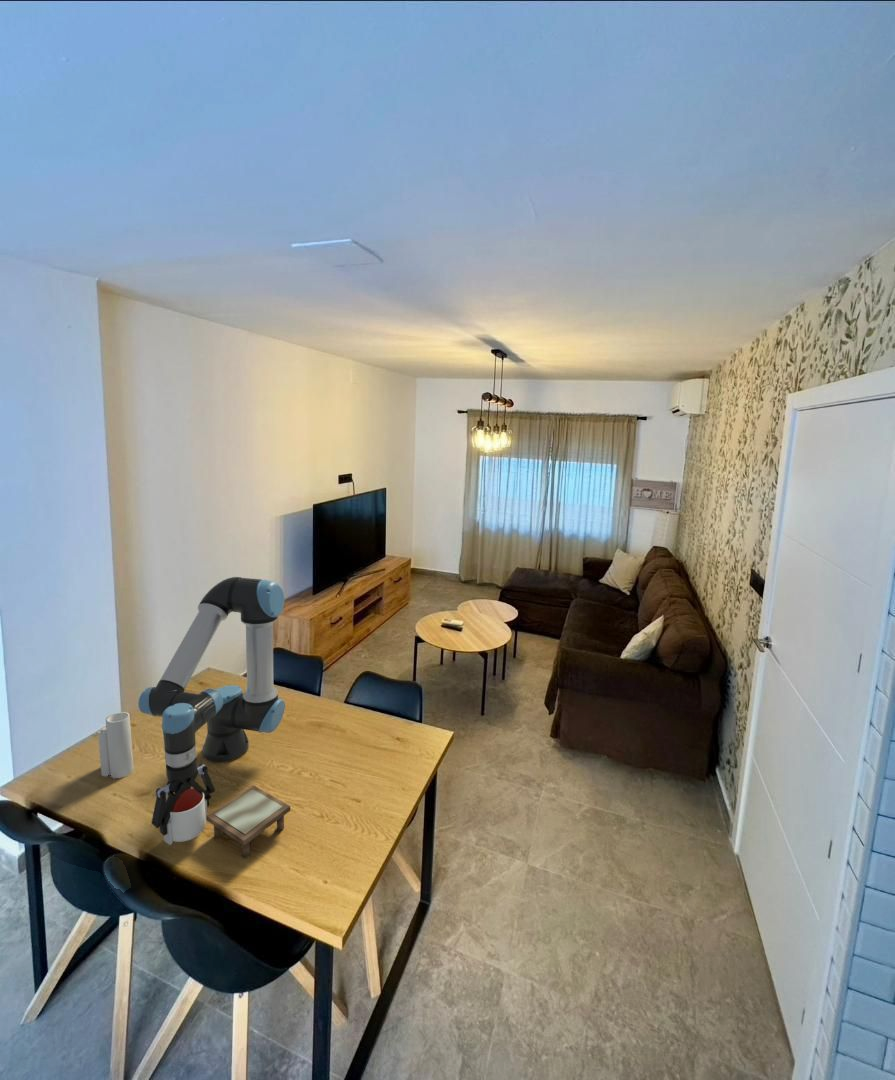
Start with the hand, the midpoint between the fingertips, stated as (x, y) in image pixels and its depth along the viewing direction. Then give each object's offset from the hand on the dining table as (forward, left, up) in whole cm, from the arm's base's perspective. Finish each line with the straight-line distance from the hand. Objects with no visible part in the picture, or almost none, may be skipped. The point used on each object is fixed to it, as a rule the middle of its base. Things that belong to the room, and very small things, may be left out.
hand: (186, 829), depth 148 cm
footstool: (+12, +11, -3) cm, 17 cm away
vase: (-46, +4, -3) cm, 46 cm away
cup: (0, 0, -1) cm, 1 cm away
